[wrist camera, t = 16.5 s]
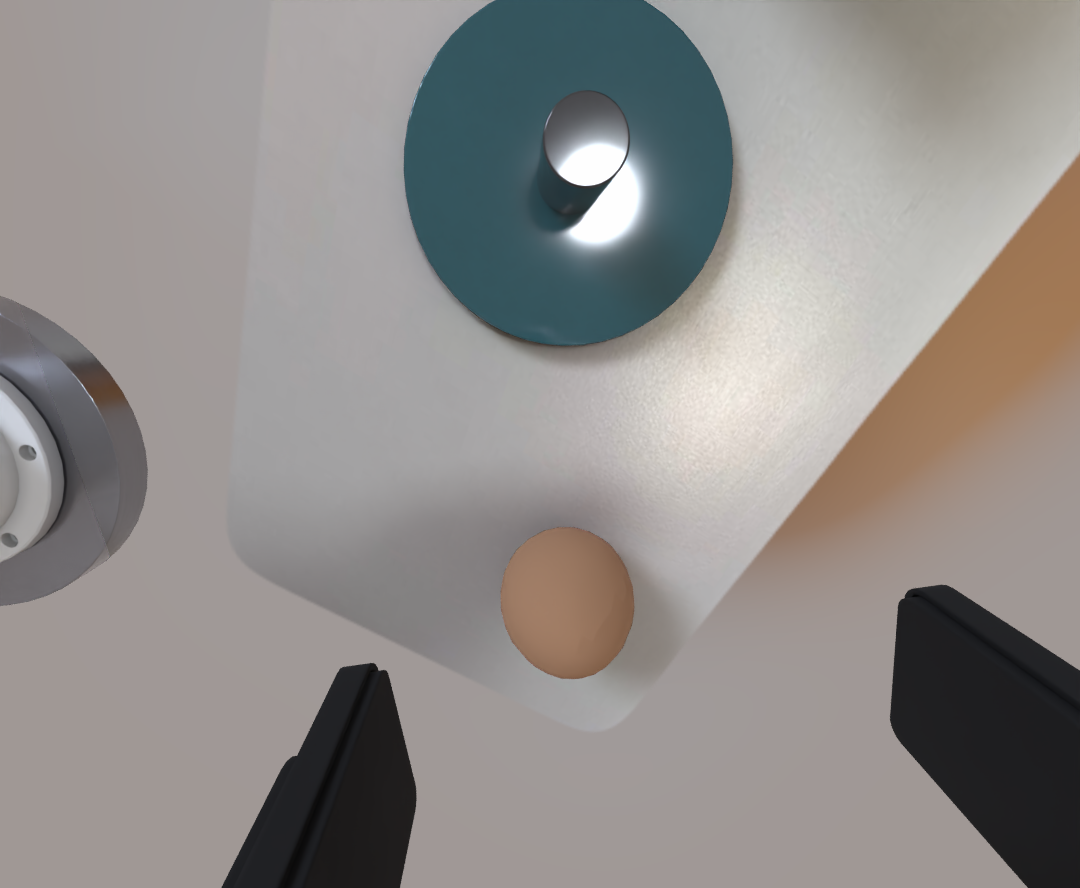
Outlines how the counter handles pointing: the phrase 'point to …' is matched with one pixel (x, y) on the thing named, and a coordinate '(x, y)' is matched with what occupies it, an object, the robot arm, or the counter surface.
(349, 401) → the counter surface
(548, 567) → the egg
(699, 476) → the counter surface
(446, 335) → the counter surface
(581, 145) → the saucepan lid
